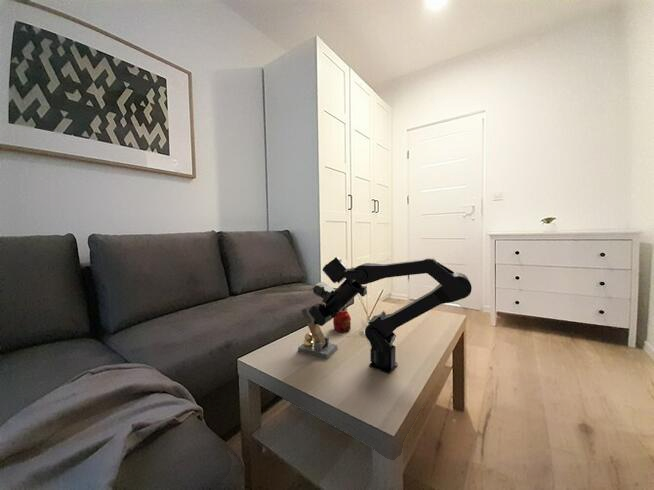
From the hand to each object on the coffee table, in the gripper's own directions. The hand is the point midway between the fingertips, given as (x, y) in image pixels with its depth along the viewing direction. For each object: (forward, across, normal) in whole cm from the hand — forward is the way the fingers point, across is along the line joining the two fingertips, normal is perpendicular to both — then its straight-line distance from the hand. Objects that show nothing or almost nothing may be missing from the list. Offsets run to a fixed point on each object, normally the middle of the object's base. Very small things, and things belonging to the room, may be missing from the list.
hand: (315, 323), depth 85 cm
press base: (+6, 0, +7) cm, 9 cm away
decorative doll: (+6, -21, +7) cm, 23 cm away
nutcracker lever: (+3, 0, +6) cm, 7 cm away
